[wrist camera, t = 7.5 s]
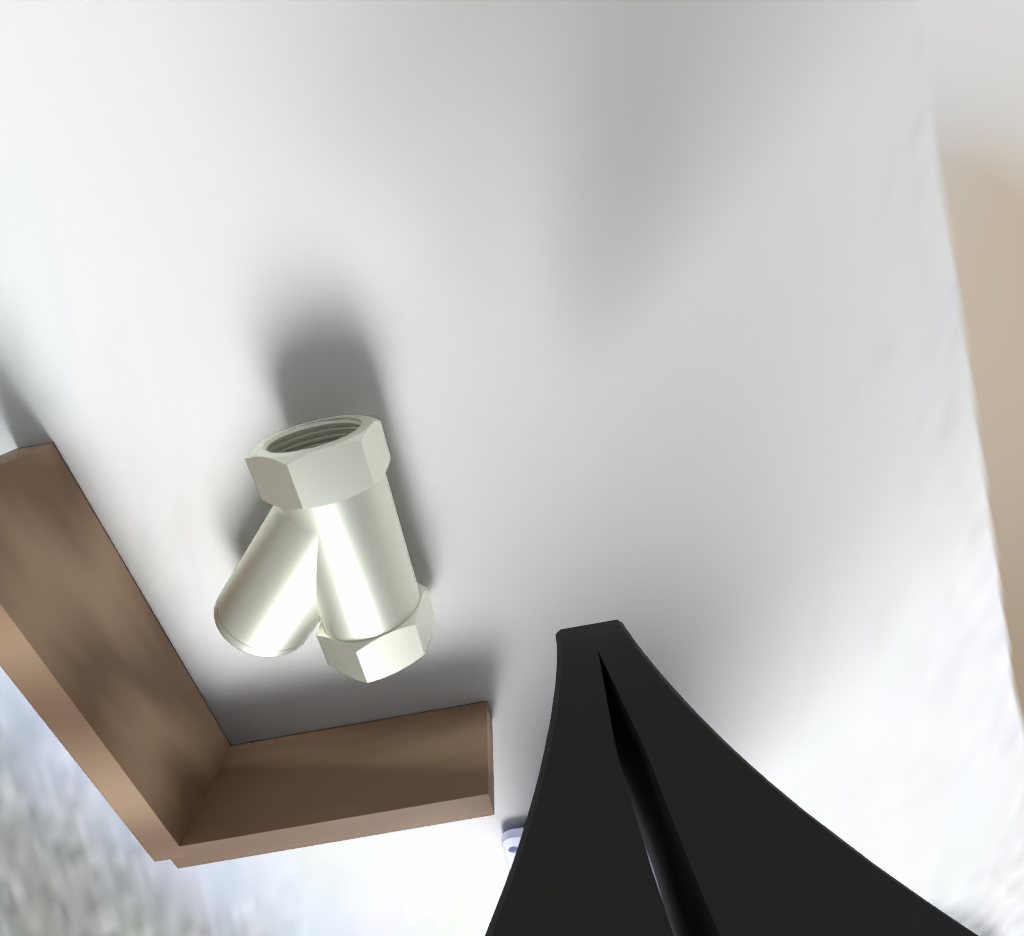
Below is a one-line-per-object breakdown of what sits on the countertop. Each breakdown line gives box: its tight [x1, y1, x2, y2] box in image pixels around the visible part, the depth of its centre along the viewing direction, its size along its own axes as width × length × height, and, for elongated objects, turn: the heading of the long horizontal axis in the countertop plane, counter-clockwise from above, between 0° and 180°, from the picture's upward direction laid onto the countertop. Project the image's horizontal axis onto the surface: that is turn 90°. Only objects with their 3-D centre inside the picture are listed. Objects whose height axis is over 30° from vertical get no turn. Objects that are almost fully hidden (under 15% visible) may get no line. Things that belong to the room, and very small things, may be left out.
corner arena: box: [0, 442, 494, 868], centre depth 17 cm, size 16×13×4 cm
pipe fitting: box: [214, 415, 434, 683], centre depth 16 cm, size 8×4×7 cm
